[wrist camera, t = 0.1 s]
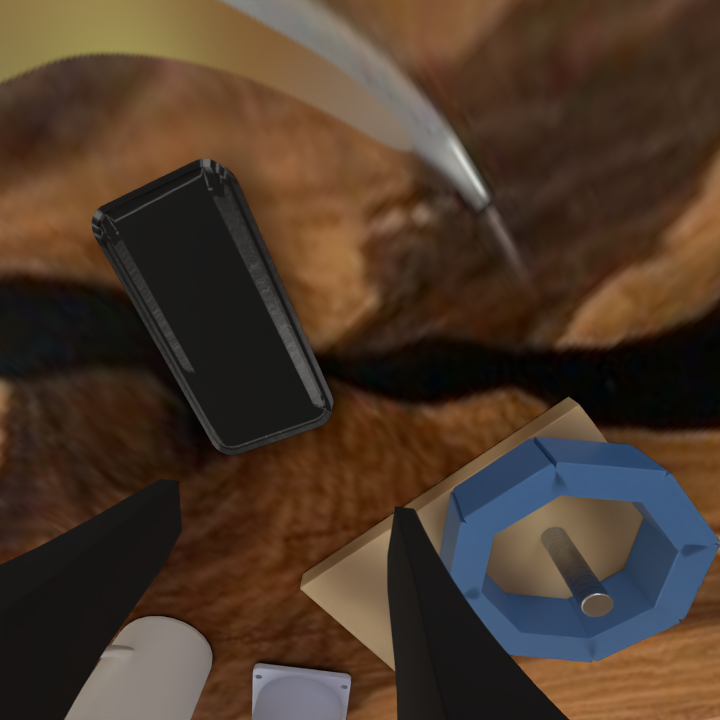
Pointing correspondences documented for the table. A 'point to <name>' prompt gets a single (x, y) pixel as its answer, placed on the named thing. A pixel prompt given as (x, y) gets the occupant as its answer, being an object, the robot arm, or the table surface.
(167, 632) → the mug
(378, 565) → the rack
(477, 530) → the ring
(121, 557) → the robot arm
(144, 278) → the phone
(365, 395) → the table surface
